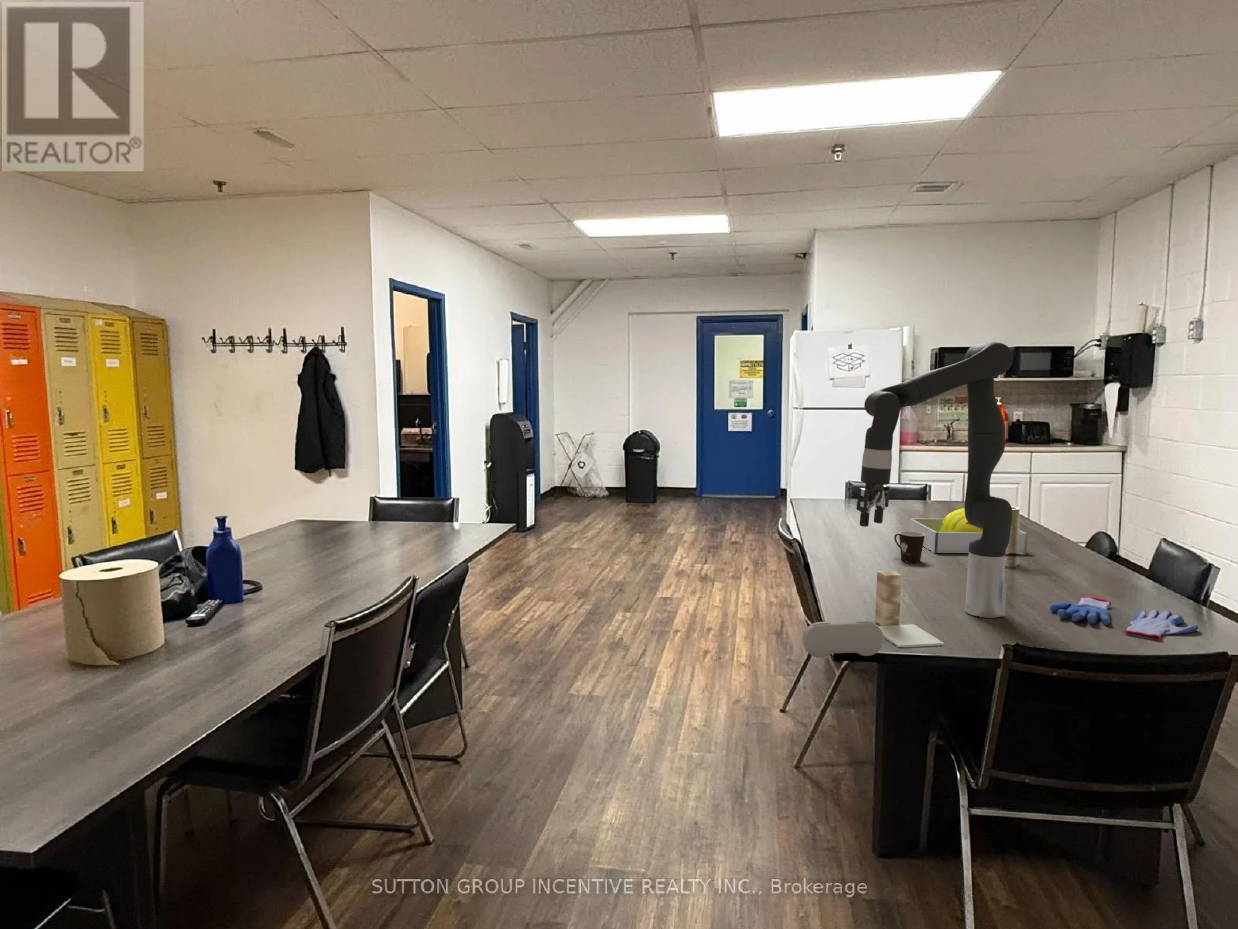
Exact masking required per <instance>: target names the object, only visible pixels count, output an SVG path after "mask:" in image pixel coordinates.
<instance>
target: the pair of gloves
mask: <svg viewBox="0 0 1238 929" xmlns="http://www.w3.org/2000/svg"><path fill="white" fill-rule="evenodd" d="M1111 604H1112V602H1111V600H1109V599H1106V598H1100V597H1096V596H1094V595H1086V596H1081V597H1080V601H1079V602H1078V604H1074V603H1072V602H1054V603H1052V604H1050V606H1049V610H1050V611H1051V612H1053V613H1057V616H1058V617H1060V618H1061V619H1069V618H1071V621H1072V622H1079V621H1083V620H1085V619H1086V620H1087V622H1088V623H1089V624H1090V625H1095V624H1097V623H1098V622H1099V621H1100V622H1102V624H1103V625H1105V626H1108V625H1110V624H1111V617H1110V611H1109V610H1108V609H1109V607H1111ZM1183 622H1184V623H1185V620H1184V617H1183V616H1182V615H1180V614H1172V612H1171V611H1170V610H1165V611H1164V610H1163V612H1159V610H1157V609H1155V608H1154V609H1152V610H1151V611H1149V612H1148V614H1147V613H1146V610H1143V609H1142V610H1139V611H1138V612H1137V613H1136V615H1135V616H1133V618H1132V619H1131V621H1130V622H1129V626H1127V628H1126V629H1125V630H1124V634H1126V635H1127V636H1132V637H1136V638H1141V639H1145V640H1149V641H1155V642H1160V641H1162V642H1164V639H1162V637H1161V636H1162V635H1163V636H1165V635H1170V636H1172V635H1171V634H1177V635H1180V634H1179V633H1186V634H1190V633H1189V632H1192V633H1194V632H1193V631H1196V630H1197V631H1198V629H1199V626H1198V625H1197V624H1195V623H1193V624H1191V625H1189V626H1185V627H1178V626H1177V625H1179V624H1184V623H1183ZM1197 631H1196V632H1197Z"/></svg>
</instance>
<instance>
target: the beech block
mask: <svg viewBox="0 0 1238 929" xmlns="http://www.w3.org/2000/svg"><path fill="white" fill-rule="evenodd" d="M876 573H877V574H876V592H875V611H874V612H875V616H874V623H877V624H878V623H879V624H878V625H879V626H889V625H900V617H901V616H900V615H901V614H900V613H901V596H902V595H901V594H902V591H901V590H902V576H903V575H902V574H900V573H899V572H897V571H895V570H877V572H876Z"/></svg>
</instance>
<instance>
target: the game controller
mask: <svg viewBox="0 0 1238 929" xmlns="http://www.w3.org/2000/svg"><path fill="white" fill-rule="evenodd" d="M878 626H879V625H877V624H875V622H873V621H870V620H857V621H817V622H813V623H812V624H810V625H809V626H808V627H806V628H805V630H804V632H803V633H802V638H801V643H802V646H803V648H804V649H805V650H804V651H806V652H807V653H808V654H809V655H811V656H812V657H815V658H826V657H828V656H830V655H831V654H854V653H855V654H857V655H859V656H864V657H870V656H874V655H876V654H877V653H878V652H880V650H881V649H882V647H883V645H884V643H885V642H884V641H885V638H884V635H883V632H882V630H881V629H880V628H879V627H878Z"/></svg>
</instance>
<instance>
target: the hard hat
mask: <svg viewBox="0 0 1238 929" xmlns="http://www.w3.org/2000/svg"><path fill="white" fill-rule="evenodd" d="M942 519H943V521H942V523H941V525H940V529H939V532H977V533H982V532H983V528H980V527H976V526H973V525H971V524H970V523H969V522H968V521H967V519H966V517H965V511H964V508H959V509H956V510H952V511H951V512H949V514H947V515H946V516H945V517H944V518H942Z"/></svg>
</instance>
